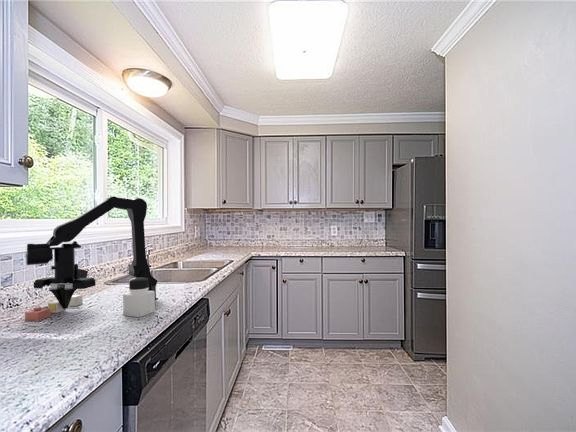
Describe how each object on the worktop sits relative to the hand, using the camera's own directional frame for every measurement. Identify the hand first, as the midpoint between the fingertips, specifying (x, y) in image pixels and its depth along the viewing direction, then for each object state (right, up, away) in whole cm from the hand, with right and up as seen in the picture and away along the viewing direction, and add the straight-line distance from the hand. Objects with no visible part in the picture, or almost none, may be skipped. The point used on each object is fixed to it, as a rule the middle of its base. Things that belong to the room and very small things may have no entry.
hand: (65, 308), depth 115 cm
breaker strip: (-2, -2, +4) cm, 5 cm away
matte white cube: (-3, -1, +1) cm, 3 cm away
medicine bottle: (+25, -2, +1) cm, 25 cm away
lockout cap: (-4, -3, -7) cm, 9 cm away
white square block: (-2, -1, +9) cm, 9 cm away
